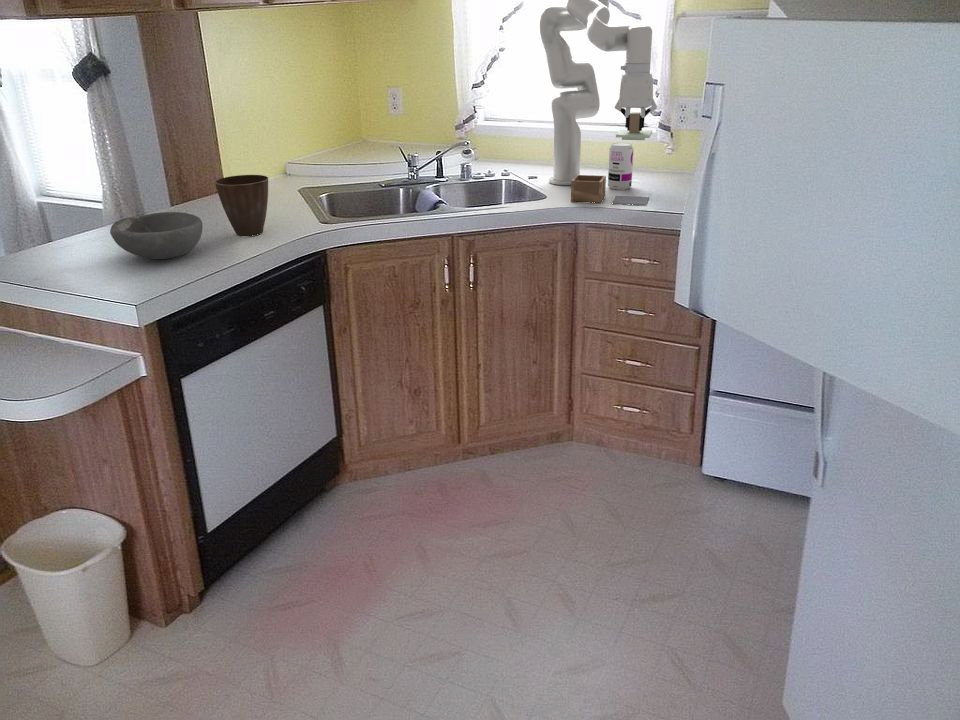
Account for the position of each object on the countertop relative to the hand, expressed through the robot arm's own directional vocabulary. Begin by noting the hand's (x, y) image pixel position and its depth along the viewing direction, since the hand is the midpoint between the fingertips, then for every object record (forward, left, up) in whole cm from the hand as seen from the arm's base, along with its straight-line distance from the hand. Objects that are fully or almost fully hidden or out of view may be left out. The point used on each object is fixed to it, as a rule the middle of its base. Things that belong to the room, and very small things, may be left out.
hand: (634, 129), depth 259 cm
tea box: (0, -14, -23) cm, 27 cm away
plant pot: (+62, -105, -23) cm, 124 cm away
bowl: (+88, -116, -23) cm, 147 cm away
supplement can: (-20, -6, -23) cm, 31 cm away
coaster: (0, 0, -23) cm, 23 cm away
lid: (0, 0, -2) cm, 2 cm away
